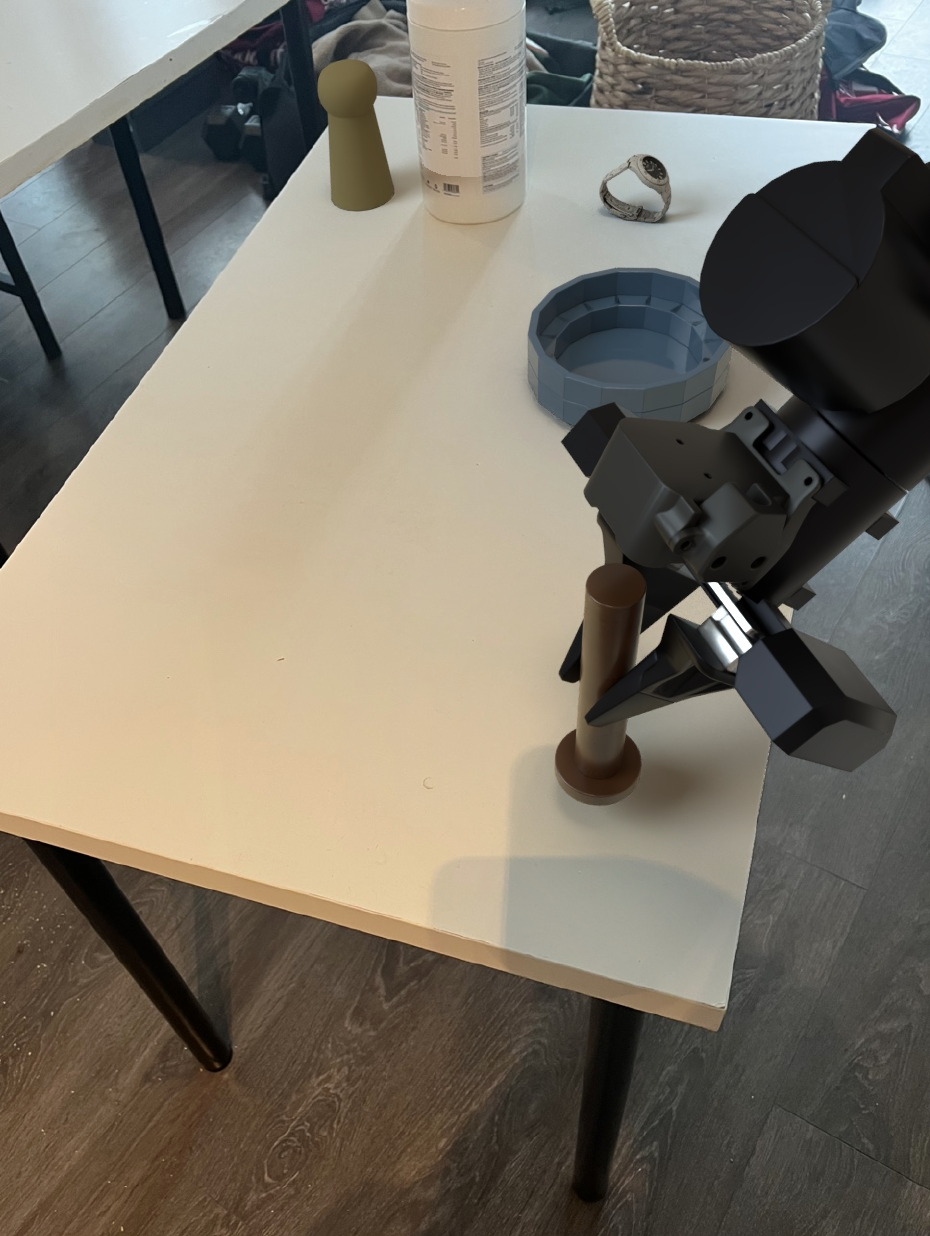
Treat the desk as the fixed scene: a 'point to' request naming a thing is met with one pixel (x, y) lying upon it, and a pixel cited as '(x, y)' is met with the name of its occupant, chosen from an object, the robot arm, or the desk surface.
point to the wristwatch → (649, 175)
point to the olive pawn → (354, 136)
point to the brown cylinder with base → (604, 689)
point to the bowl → (626, 346)
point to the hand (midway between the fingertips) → (577, 700)
